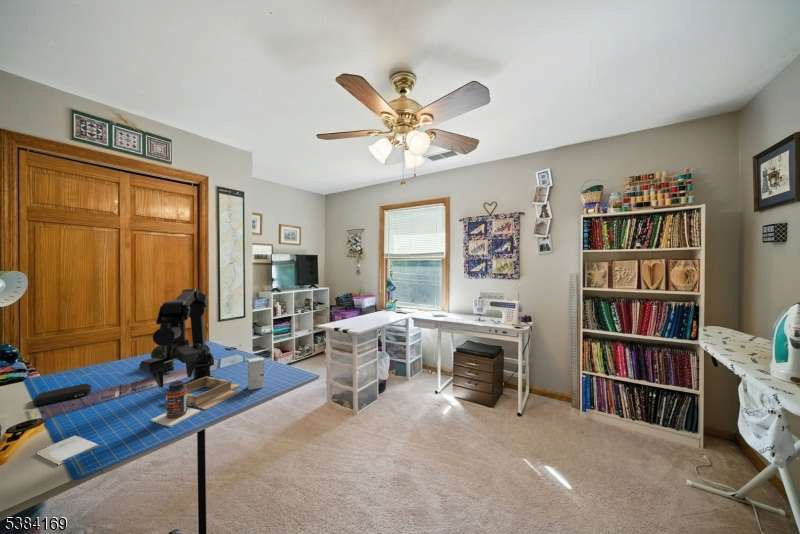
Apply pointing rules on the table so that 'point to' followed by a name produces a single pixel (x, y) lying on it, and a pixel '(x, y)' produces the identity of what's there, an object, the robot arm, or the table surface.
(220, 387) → the carton
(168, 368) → the dark green lumpy piece
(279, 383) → the table surface
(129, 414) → the table surface
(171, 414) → the supplement bottle
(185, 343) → the robot arm
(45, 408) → the table surface
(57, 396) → the carrying case or bag
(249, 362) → the skincare box
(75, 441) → the external hard drive
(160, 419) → the grey mat
